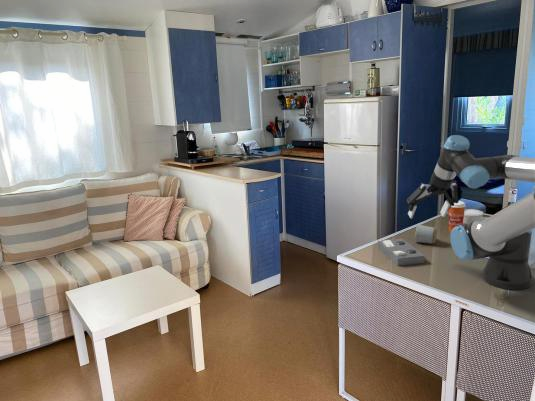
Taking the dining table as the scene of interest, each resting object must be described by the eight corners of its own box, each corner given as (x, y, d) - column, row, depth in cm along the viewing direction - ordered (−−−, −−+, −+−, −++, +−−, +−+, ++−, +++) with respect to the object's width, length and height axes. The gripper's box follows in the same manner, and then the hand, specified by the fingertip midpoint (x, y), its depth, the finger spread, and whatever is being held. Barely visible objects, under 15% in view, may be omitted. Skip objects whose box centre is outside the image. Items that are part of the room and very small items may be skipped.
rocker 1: (394, 248, 174) (394, 246, 173) (387, 249, 173) (387, 246, 173) (389, 241, 178) (390, 239, 178) (382, 242, 178) (382, 240, 177)
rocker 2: (405, 255, 164) (405, 252, 164) (397, 255, 163) (397, 253, 163) (400, 252, 169) (399, 250, 169) (392, 253, 168) (392, 251, 168)
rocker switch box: (424, 262, 163) (424, 255, 162) (397, 265, 162) (397, 258, 161) (401, 244, 182) (402, 238, 181) (378, 247, 181) (378, 240, 180)
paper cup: (445, 232, 193) (446, 204, 189) (447, 227, 199) (449, 199, 196) (463, 234, 189) (465, 205, 185) (465, 229, 195) (467, 201, 191)
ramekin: (466, 217, 212) (467, 207, 211) (487, 222, 203) (488, 212, 202) (453, 222, 207) (453, 211, 206) (474, 227, 198) (474, 216, 196)
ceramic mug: (434, 246, 178) (435, 229, 176) (414, 244, 182) (414, 227, 180) (438, 238, 187) (438, 222, 185) (419, 236, 191) (419, 220, 189)
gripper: (471, 167, 155) (451, 207, 169) (407, 168, 152) (393, 209, 167) (481, 179, 149) (459, 220, 164) (415, 181, 147) (399, 223, 161)
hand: (426, 215), depth 165 cm, fingers open, 13 cm apart
